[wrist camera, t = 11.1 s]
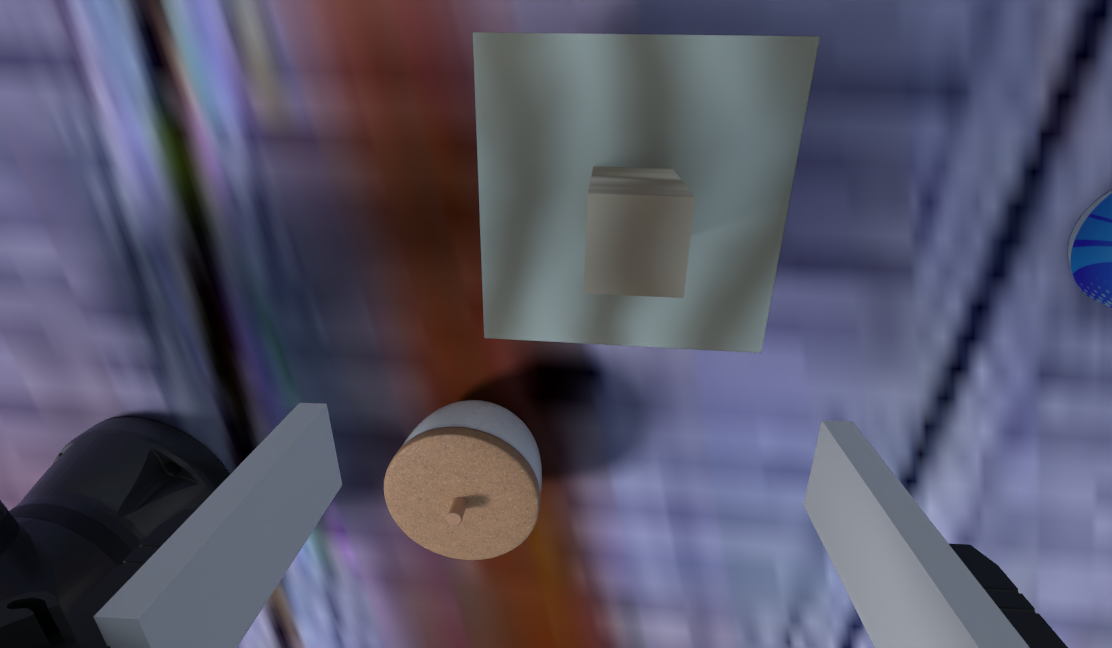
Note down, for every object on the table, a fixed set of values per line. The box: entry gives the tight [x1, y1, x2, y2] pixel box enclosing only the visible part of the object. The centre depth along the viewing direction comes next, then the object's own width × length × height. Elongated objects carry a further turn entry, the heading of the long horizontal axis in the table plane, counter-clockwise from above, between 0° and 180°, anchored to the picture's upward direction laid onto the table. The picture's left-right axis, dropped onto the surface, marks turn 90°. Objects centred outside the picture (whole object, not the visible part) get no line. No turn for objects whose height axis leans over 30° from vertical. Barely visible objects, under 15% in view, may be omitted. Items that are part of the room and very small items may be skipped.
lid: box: [473, 32, 820, 353], centre depth 25 cm, size 16×16×9 cm
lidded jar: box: [384, 400, 542, 560], centre depth 39 cm, size 11×11×9 cm
